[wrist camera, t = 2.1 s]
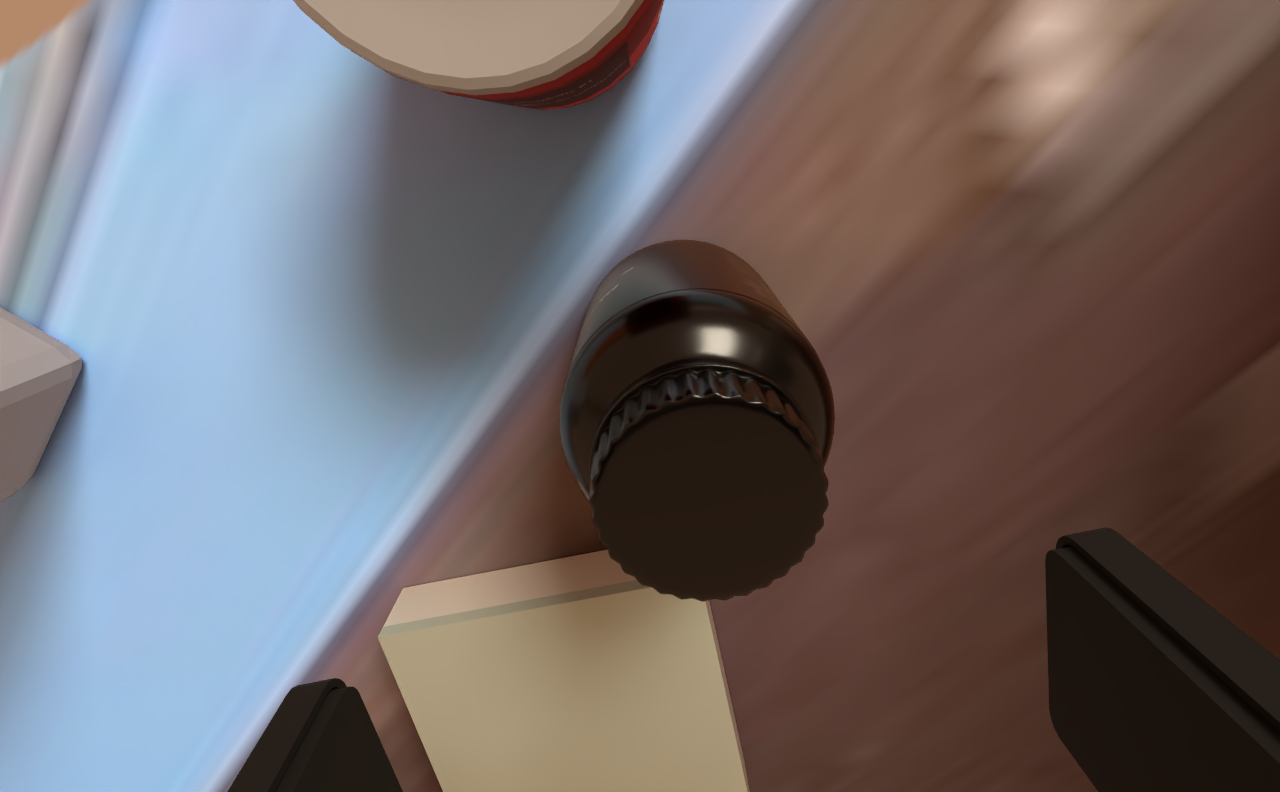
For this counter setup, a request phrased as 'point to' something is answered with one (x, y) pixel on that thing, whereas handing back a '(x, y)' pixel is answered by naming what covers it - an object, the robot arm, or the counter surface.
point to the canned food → (496, 44)
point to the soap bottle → (30, 396)
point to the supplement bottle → (697, 423)
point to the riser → (564, 682)
